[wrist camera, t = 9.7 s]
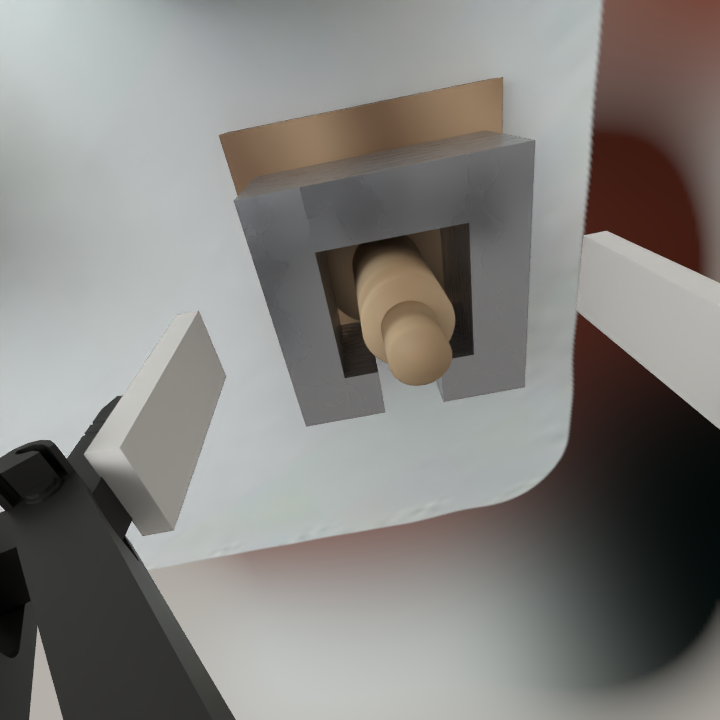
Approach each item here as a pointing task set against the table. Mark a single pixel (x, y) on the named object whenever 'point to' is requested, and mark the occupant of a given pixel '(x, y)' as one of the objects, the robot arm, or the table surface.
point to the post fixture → (392, 255)
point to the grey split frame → (386, 220)
